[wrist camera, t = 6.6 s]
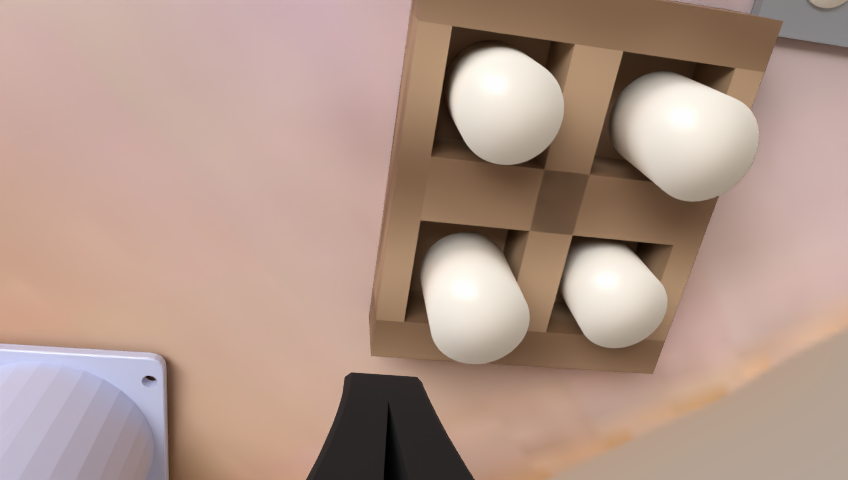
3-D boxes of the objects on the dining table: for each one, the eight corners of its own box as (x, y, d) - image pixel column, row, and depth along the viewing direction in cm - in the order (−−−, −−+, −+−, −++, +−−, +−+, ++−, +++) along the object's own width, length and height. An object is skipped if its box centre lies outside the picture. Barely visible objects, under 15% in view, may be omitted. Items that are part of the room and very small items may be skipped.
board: (626, 335, 25) (652, 373, 23) (369, 316, 23) (371, 356, 21) (736, 11, 20) (783, 20, 18) (417, -42, 18) (426, -38, 16)
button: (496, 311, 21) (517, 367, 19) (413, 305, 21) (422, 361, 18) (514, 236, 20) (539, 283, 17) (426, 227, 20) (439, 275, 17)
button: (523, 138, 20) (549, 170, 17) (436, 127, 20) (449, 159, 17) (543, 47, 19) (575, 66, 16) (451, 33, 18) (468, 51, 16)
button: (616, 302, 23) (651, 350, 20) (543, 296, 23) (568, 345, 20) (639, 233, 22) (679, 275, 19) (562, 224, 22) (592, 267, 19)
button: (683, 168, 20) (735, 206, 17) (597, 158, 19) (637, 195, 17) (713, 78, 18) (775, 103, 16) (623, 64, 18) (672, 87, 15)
